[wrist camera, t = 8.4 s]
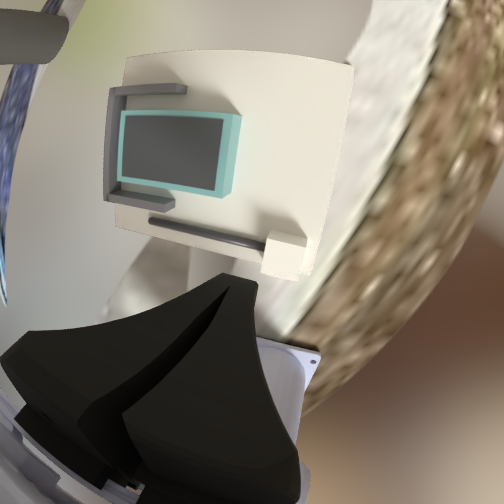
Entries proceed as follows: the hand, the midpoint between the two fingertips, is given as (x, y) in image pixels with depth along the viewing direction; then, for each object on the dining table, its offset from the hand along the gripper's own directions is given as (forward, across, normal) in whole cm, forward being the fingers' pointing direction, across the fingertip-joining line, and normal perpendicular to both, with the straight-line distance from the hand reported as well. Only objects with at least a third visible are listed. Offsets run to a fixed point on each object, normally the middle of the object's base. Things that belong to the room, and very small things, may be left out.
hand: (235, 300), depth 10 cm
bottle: (+10, +26, -16) cm, 32 cm away
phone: (+9, +7, -4) cm, 12 cm away
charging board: (+9, +5, -4) cm, 11 cm away
